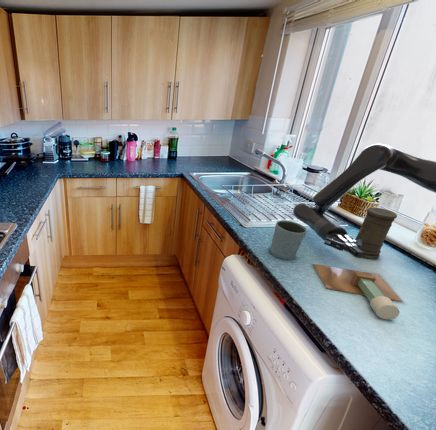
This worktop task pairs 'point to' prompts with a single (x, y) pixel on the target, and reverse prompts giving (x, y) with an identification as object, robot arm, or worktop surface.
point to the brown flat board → (342, 281)
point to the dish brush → (375, 296)
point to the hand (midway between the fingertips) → (360, 255)
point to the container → (375, 231)
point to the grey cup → (287, 239)
